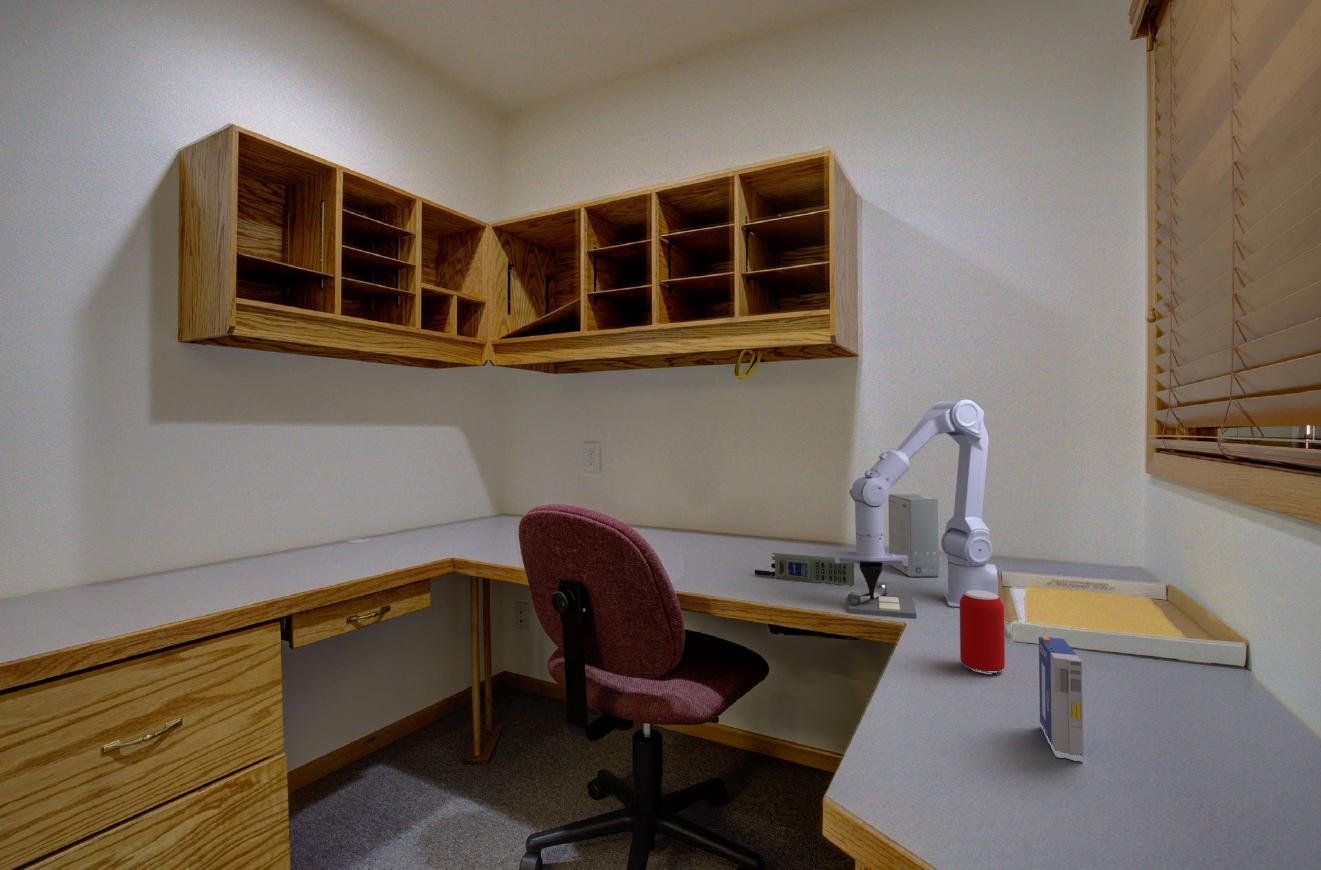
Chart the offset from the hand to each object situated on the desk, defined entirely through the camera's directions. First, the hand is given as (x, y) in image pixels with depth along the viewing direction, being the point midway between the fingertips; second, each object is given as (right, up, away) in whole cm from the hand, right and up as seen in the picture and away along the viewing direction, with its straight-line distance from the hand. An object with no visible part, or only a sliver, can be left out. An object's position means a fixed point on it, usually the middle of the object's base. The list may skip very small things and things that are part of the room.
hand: (871, 597), depth 127 cm
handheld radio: (-9, -3, +24) cm, 26 cm away
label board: (+3, -2, +1) cm, 4 cm away
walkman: (+4, -3, -55) cm, 55 cm away
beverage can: (+6, -3, -32) cm, 33 cm away
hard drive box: (+23, -2, +33) cm, 40 cm away
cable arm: (0, -1, +3) cm, 3 cm away
